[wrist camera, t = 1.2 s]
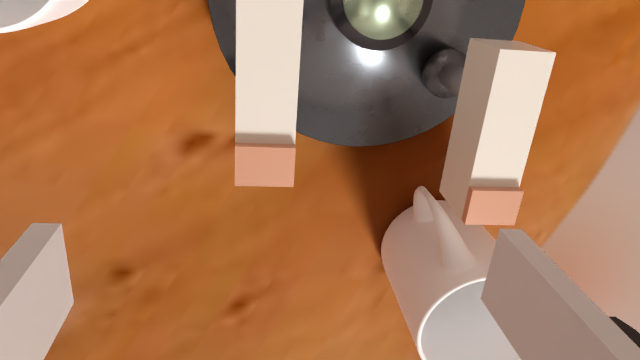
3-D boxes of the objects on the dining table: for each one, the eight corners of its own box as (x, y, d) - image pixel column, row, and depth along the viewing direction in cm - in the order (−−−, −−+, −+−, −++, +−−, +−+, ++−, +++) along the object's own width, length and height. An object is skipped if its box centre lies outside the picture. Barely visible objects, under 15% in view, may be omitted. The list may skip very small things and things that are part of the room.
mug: (460, 144, 37) (532, 210, 27) (485, 264, 42) (553, 356, 32) (354, 181, 37) (388, 260, 27) (392, 296, 42) (432, 396, 32)
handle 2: (438, 26, 29) (505, 51, 21) (480, 29, 30) (562, 54, 22) (415, 160, 33) (465, 224, 25) (453, 161, 34) (514, 225, 26)
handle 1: (242, -25, 27) (235, -19, 19) (291, -21, 27) (305, -13, 19) (240, 126, 31) (234, 185, 23) (284, 128, 31) (293, 187, 23)
